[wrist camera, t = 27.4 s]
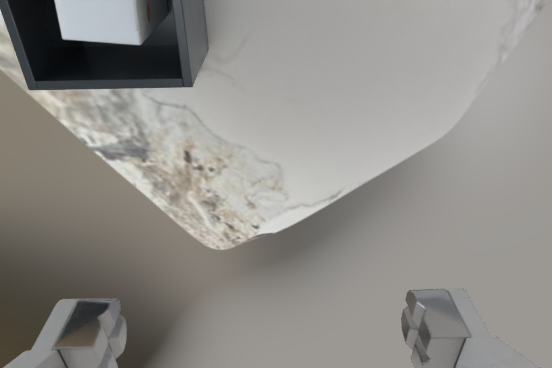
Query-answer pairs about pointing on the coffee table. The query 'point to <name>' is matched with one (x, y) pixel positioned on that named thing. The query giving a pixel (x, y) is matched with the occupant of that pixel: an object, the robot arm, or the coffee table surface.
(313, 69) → the coffee table surface
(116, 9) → the small box
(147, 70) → the bin
